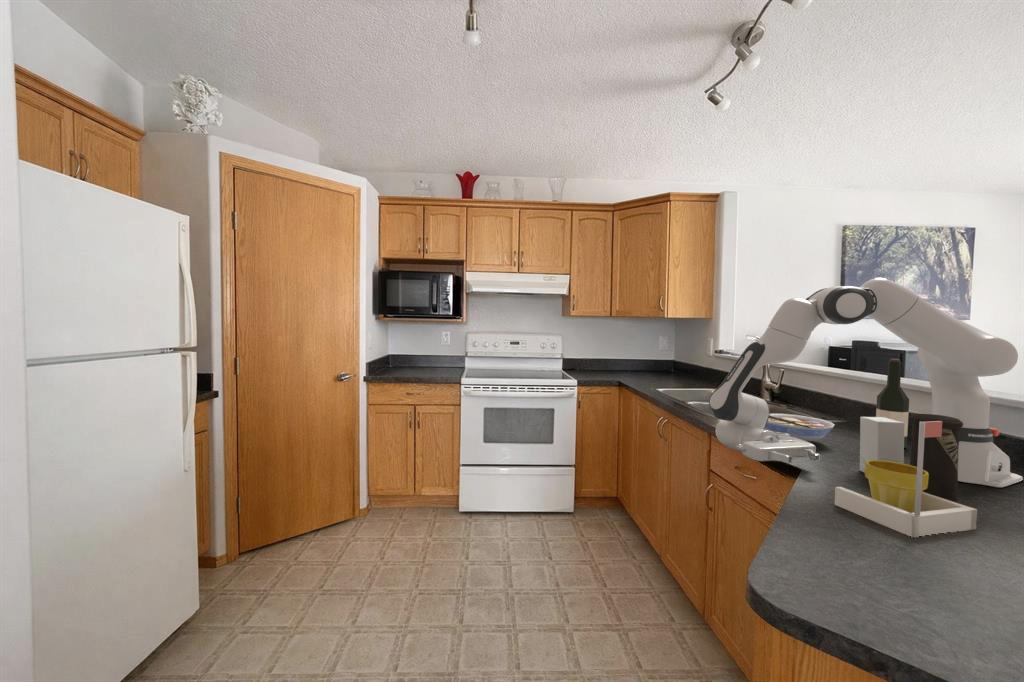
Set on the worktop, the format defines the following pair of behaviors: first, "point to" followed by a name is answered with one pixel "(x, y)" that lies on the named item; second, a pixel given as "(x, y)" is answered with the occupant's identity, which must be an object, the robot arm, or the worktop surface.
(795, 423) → the ramen bowl
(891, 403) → the wine bottle
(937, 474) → the container
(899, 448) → the skincare box
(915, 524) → the white frame with flag
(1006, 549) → the worktop surface
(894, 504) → the plant pot
